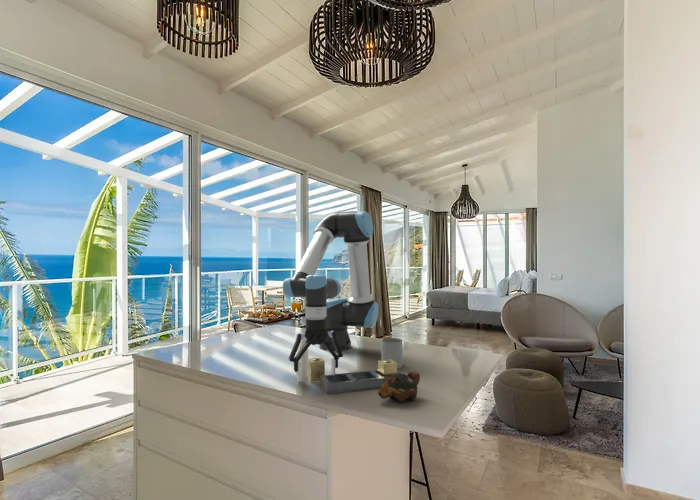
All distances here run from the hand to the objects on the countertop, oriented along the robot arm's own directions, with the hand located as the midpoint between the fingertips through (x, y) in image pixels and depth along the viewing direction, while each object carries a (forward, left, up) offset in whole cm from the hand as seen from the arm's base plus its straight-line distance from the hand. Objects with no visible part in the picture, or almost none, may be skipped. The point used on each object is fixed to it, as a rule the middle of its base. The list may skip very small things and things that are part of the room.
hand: (316, 379), depth 140 cm
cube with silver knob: (0, 0, 0) cm, 0 cm away
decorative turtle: (+27, +20, 0) cm, 34 cm away
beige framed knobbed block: (+10, +23, 0) cm, 25 cm away
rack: (+10, +14, 0) cm, 17 cm away
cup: (-8, +33, 0) cm, 34 cm away
